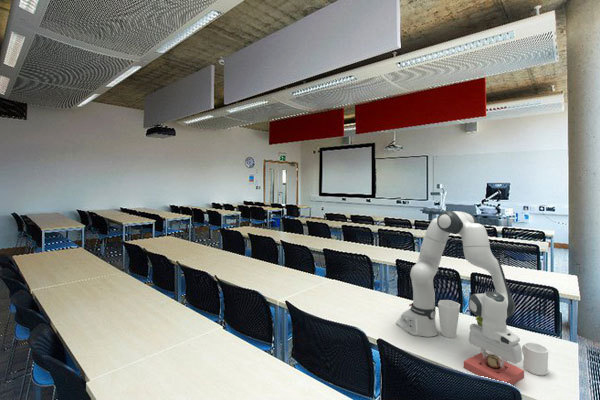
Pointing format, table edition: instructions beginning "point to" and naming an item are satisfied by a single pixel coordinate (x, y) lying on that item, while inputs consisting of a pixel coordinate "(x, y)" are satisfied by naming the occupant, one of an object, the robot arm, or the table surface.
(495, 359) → the tan cylinder plug
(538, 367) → the mug
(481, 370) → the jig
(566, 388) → the table surface
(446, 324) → the cup
